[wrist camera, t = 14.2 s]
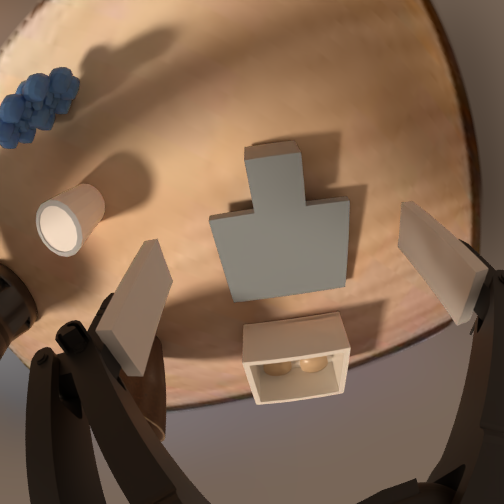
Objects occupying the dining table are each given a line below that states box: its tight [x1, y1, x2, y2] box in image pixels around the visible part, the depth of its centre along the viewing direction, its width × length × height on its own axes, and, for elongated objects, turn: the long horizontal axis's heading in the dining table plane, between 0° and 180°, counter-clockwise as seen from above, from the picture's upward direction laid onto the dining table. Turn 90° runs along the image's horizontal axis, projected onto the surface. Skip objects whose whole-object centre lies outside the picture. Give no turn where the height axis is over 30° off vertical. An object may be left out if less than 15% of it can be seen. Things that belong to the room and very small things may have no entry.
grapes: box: [0, 67, 80, 149], centre depth 18 cm, size 12×7×12 cm, turn 118°
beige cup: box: [36, 184, 105, 257], centre depth 28 cm, size 7×7×7 cm
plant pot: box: [89, 336, 166, 442], centre depth 36 cm, size 15×15×16 cm
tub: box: [242, 311, 351, 405], centre depth 40 cm, size 14×12×7 cm
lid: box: [209, 140, 350, 303], centre depth 31 cm, size 15×19×4 cm
